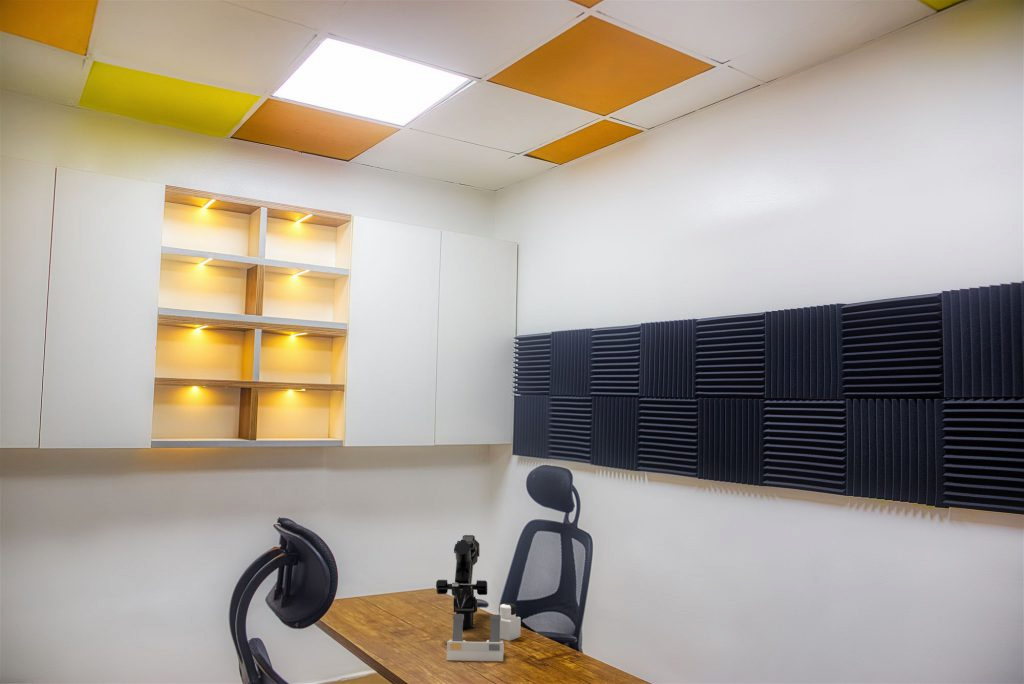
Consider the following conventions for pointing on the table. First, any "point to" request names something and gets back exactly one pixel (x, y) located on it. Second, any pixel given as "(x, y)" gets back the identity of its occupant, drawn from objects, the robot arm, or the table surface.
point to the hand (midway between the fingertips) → (460, 608)
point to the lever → (495, 628)
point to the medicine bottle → (509, 622)
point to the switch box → (475, 651)
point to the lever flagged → (458, 627)
